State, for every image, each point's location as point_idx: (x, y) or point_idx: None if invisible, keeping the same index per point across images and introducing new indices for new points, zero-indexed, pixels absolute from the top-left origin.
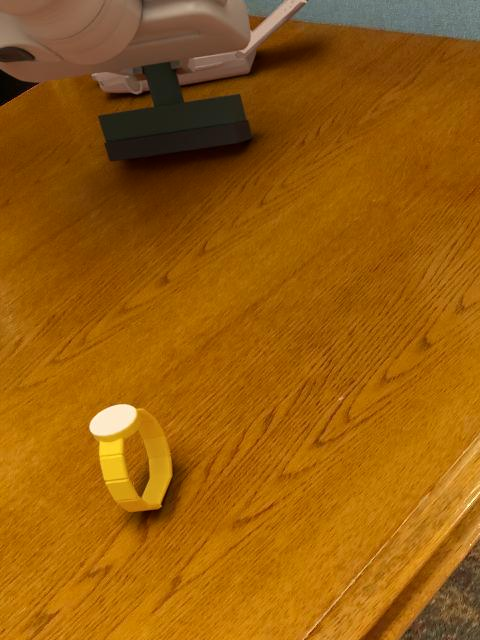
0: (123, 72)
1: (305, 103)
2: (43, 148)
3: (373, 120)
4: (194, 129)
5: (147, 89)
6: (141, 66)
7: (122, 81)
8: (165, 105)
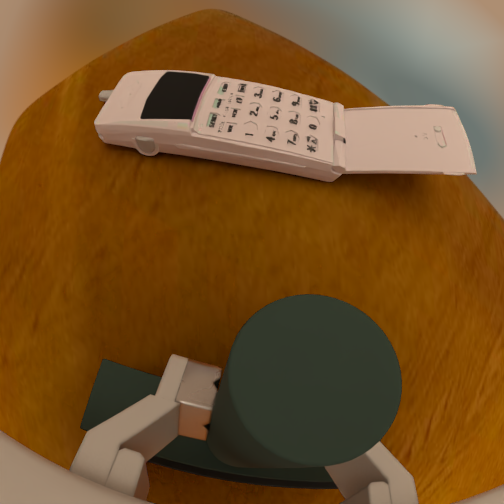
0: (153, 455)
1: (418, 333)
2: (12, 252)
3: (478, 415)
4: (280, 486)
5: (164, 152)
6: (206, 431)
7: (130, 139)
8: (241, 474)
